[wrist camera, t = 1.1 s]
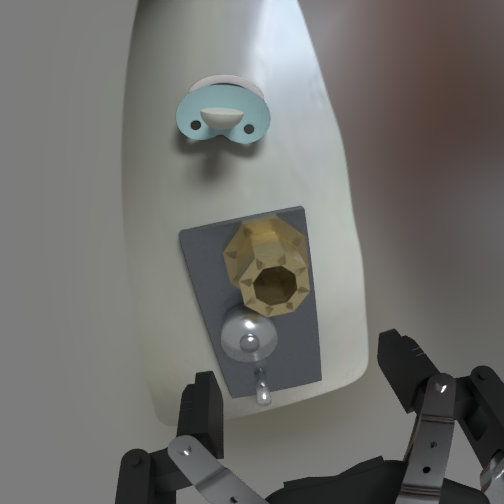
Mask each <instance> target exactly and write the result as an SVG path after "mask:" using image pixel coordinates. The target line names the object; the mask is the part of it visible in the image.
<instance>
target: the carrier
mask: <svg viewBox="0 0 504 504" xmlns="http://www.w3.org/2000/svg"><path fill="white" fill-rule="evenodd" d="M273 214H276V215H277V216H279V217H280V218H282V219H283V220H285V221H286V222H288V223H289V224H291V225H292V226H294V227H295V228H297V229H298V230H300V231H301V232H302V233H303V234H304V235H305V238H306V246H307V254H308V262H309V268H308V277H309V285H310V292H309V293H308V295H307V296H306V297H305V298H304V300H303V301H302V302H301V303H300V304H299V306H298V307H297V308H296V309H295V310H294V312H289V313H285V314H280V315H276V316H271V317H266V316H264V315H262V314H260V313H258V312H256V311H254V310H253V309H251V308H249V307H247V306H245V305H244V301H243V296H242V292H241V289H239V288H237V287H236V286H234V285H232V284H230V280H229V276H228V272H227V268H226V264H225V259H224V255H223V248H224V246H225V245H226V243H227V242H228V240H229V239H230V237H231V236H232V234H233V233H234V231H235V230H236V228H237V227H238V226H239V224H240V223H241V221H244V220H248V219H253V218H258V217H263V216H268V215H273ZM179 238H180V241H181V245H182V248H183V252H184V255H185V259H186V262H187V266H188V269H189V272H190V276H191V279H192V282H193V286H194V289H195V292H196V295H197V298H198V301H199V305H200V308H201V311H202V314H203V317H204V320H205V323H206V326H207V329H208V332H209V335H210V338H211V341H212V344H213V346H214V349H215V352H216V355H217V358H218V361H219V363H220V366H221V369H222V372H223V374H224V377H225V380H226V382H227V385H228V388H229V390H230V393H231V396H232V398H238V397H244V396H250V395H256V394H257V402H258V405H260V406H268V405H269V404H270V403H271V398H270V392H272V391H277V390H282V389H287V388H291V387H296V386H300V385H305V384H309V383H313V382H317V381H321V380H322V376H321V360H320V346H319V334H318V322H317V311H316V300H315V291H314V281H313V272H312V264H311V255H310V247H309V239H308V232H307V224H306V217H305V210H304V208H303V207H302V206H297V207H291V208H286V209H281V210H276V211H271V212H266V213H261V214H256V215H251V216H246V217H241V218H236V219H231V220H227V221H222V222H217V223H213V224H208V225H203V226H199V227H194V228H190V229H185V230H181V231H180V233H179ZM276 267H277V266H275V267H271V268H266V269H263V270H262V271H261V272H263V271H268V270H273V269H276Z"/></svg>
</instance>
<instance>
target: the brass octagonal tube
mask: <svg viewBox="0 0 504 504" xmlns="http://www.w3.org/2000/svg"><path fill="white" fill-rule="evenodd" d="M223 255H224V259H225V264H226V268H227V272H228V276H229V280H230V284H232V285H234V286H236V287H237V288H239V289H241V292H242V296H243V301H244V305H245V306H247V307H249V308H251V309H253V310H254V311H256V312H258V313H260V314H262V315H264V316H266V317H271V316H276V315H280V314H285V313H289V312H294V310H295V309H296V308H297V307H298V306H299V304H300V303H301V302H302V301H303V300H304V298H305V297H306V296H307V295H308V293H309V292H310V285H309V277H308V268H309V262H308V254H307V246H306V238H305V235H304V234H303V233H302V232H301V231H300V230H298V229H297V228H295V227H294V226H292V225H291V224H289V223H288V222H286V221H285V220H283V219H282V218H280V217H279V216H277V215H276V214H273V215H268V216H263V217H258V218H253V219H248V220H244V221H241V223H240V224H239V226H238V227H237V228H236V230H235V231H234V233H233V234H232V236H231V237H230V239H229V240H228V242H227V243H226V245H225V246H224V248H223ZM275 266H277V267H276V269H273V270H268V271H263V272H261V271H262V270H263V269H266V268H271V267H275Z"/></svg>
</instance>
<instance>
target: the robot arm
mask: <svg viewBox="0 0 504 504" xmlns="http://www.w3.org/2000/svg"><path fill="white" fill-rule="evenodd" d="M377 359H378V364H379V366H380V368H381V370H382V372H383V373H384V375H385V377H386V378H387V380H388V382H389V383H390V385H391V387H392V389H393V390H394V392H395V394H396V395H397V397H398V399H399V401H400V402H401V404H402V406H403V408H404V409H405V411H406V413H407V414H408V413H410V412H413V411H415V412H416V414H417V416H416V418H415V422H414V426H413V430H412V433H411V437H410V441H409V444H408V447H407V450H406V453H405V455H404V458H403V460H402V461H399V460H385V461H384V460H383V457H382V456H379V457H376V458H373V459H370V460H367V461H364V462H361V463H359V464H357V465H355V466H353V467H352V468H350V469H348V470H346V471H345V472H342V473H341V474H339V475H336V476H328V477H307V478H302V479H297V480H292V481H287V482H283V483H284V488H282V489H279V490H277V491H275V492H274V493H272V494H271V495H269V496H268V497H267V498H265V499H263V498H262V497H261V496H259V495H258V494H257V493H256V492H255V491H253V490H252V489H251V488H250V487H249V486H247V485H246V484H245V483H244V482H243V481H242V480H241V479H240V478H238V477H237V476H236V475H235V474H234V473H233V472H232V471H231V470H229V469H228V468H225V467H224V466H223V465H222V464H221V463H220V462H219V461H218V460H217V459H223V458H224V449H223V398H222V393H221V390H220V388H219V385H218V383H217V380H216V378H215V375H214V373H213V371H206V372H199V373H196V378H195V384H189V385H187V386H186V388H185V390H184V391H183V393H182V399H181V406H180V413H179V420H178V428H177V435H176V438H175V439H173V440H172V441H171V442H170V444H169V446H168V447H167V448H165V449H163V450H159V451H156V452H152V453H149V454H148V453H147V452H146V451H144V450H142V449H132V450H130V451H128V452H127V453H126V454H125V455H124V456H123V458H122V460H121V466H120V472H119V478H118V485H117V492H116V499H115V504H176V490H179V489H182V488H186V487H189V486H192V485H194V486H195V488H196V489H197V490H198V491H199V493H200V494H201V495H202V496H203V497H204V498H205V499H206V500H207V501H208V502H209V503H210V504H504V383H503V382H502V381H501V379H500V378H499V377H498V375H497V374H496V373H495V372H494V370H493V369H491V368H490V367H488V366H478V367H476V368H474V369H473V370H472V372H471V374H470V376H466V377H460V378H453V377H452V376H451V375H449V374H447V373H440V372H439V371H438V369H437V368H436V367H435V366H434V364H433V363H432V362H431V360H430V359H429V358H428V357H427V355H426V354H424V352H423V350H422V349H421V348H420V347H419V345H418V344H417V343H416V342H415V340H413V339H411V338H410V337H408V336H406V335H405V336H402V337H401V336H400V334H399V333H398V332H397V331H396V329H391V330H388V331H385V332H382V333H380V334H379V344H378V355H377ZM454 420H457V421H458V422H459V424H460V426H461V428H462V430H463V431H464V433H465V435H466V437H467V439H468V440H469V442H470V444H471V446H472V448H473V450H474V452H475V454H476V456H477V458H478V460H479V462H480V464H481V466H482V467H483V470H482V472H481V474H480V486H481V491H480V490H477V489H475V488H471V487H469V486H466V485H463V484H460V483H457V482H455V481H452V480H449V479H447V478H444V475H445V471H446V467H447V462H448V458H449V453H450V448H451V443H452V437H453V431H454V425H455V421H454Z"/></svg>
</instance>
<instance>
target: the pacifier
mask: <svg viewBox="0 0 504 504" xmlns="http://www.w3.org/2000/svg"><path fill="white" fill-rule="evenodd" d="M219 84H229V85H219ZM232 85H235V86H232ZM195 120H197V121H200V122H201V127H200V129H198V130H193V129H192V128H191V123H192V122H193V121H195ZM176 121H177V125H178V127H179V129H180V130H181V132H182V133H183V134H184V135H186V136H187V137H189V138H192V139H196V140H206V139H210V138H213V137H215V136H217V135H224V136H225V137H227V138H228V139H230V140H232V141H234V142H238V143H251V142H255V141H257V140H259V139H260V138H261V137H263V136H264V135H265V133H266V132H267V130H268V128H269V125H270V112H269V109H268V107H267V104H266V103H265V101H264V95H263V93H262V92H261V90H260V89H259V88H258V87H257V86H256V85H255V84H254V83H252V82H251V81H249V80H247V79H244V78H241V77H238V76H233V75H215V76H210V77H207V78H204V79H202V80H200V81H198V82H197V83H195V84H194V85H193V86H192V87H191V89H190V90H189V92H188V94H187V95H186V96H185V97H184V99H183V100H182V101H181V103H180V105H179V106H178V109H177V113H176ZM247 124H251V125H253V126H254V132H253V133H252V134H247V133H245V132H244V127H245V126H246V125H247Z"/></svg>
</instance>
